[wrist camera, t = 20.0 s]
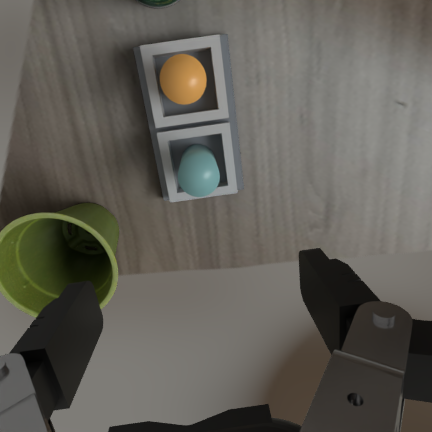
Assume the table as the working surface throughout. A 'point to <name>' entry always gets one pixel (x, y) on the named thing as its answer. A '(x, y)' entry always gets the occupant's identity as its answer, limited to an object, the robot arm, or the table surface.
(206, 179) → the teal pin
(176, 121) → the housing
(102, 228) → the plant pot
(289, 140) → the table surface
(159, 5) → the canned tomato
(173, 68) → the orange pin
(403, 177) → the table surface
